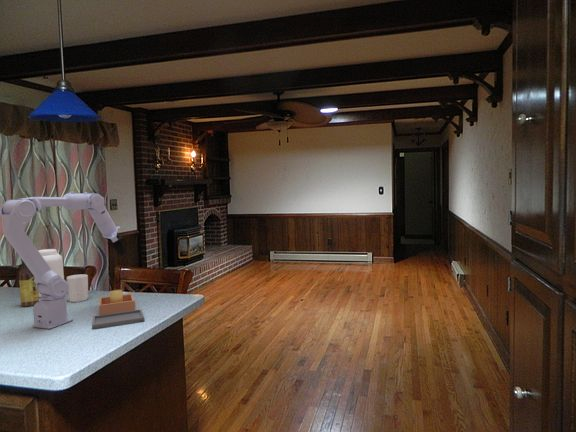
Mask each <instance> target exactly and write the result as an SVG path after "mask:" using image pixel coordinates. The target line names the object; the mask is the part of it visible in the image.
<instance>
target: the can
mask: <svg viewBox="0 0 576 432" xmlns="http://www.w3.org/2000/svg"><path fill="white" fill-rule="evenodd" d="M37 250H38V249H37ZM38 251H39V253H40V254H41V255H42V257H43V258H44V260H45V261H46V263H47V264H48V265H49V267H50V268H51V270H53V271H54V272H55V273H57V274H58V275H59V276H60V277H61V278H62V279H64V280H65V274H64V260H63V256H62V255H61V254H60V253H58V250H57V248H48V249H47V248H44V249H40V250H38ZM38 293H39V292H38ZM39 299H41V294H40V293H39Z"/></svg>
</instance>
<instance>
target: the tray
mask: <svg viewBox="0 0 576 432" xmlns="http://www.w3.org/2000/svg"><path fill="white" fill-rule="evenodd" d="M142 322H145V315H144V313H143V310H142V309H135V310H133V311H126V312H119V313H111V314H104V315H99V314H97V315H93V316H92V322H91V323H92V324H91V326H92V328H91V329H92V330H98V329H103V328H104V329H105V328H110V327H118V326H123V325H130V324H135V323H136V324H137V323H142Z"/></svg>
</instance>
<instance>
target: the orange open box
mask: <svg viewBox="0 0 576 432" xmlns="http://www.w3.org/2000/svg"><path fill="white" fill-rule="evenodd" d="M98 310H99V311H98V312H99V314H98V315H104V314H111V313H119V312H126V311H133V310H136V301H135V297H134V294H133V293H128V294H123V302H118V303H110V296H105V297H99V299H98Z"/></svg>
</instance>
